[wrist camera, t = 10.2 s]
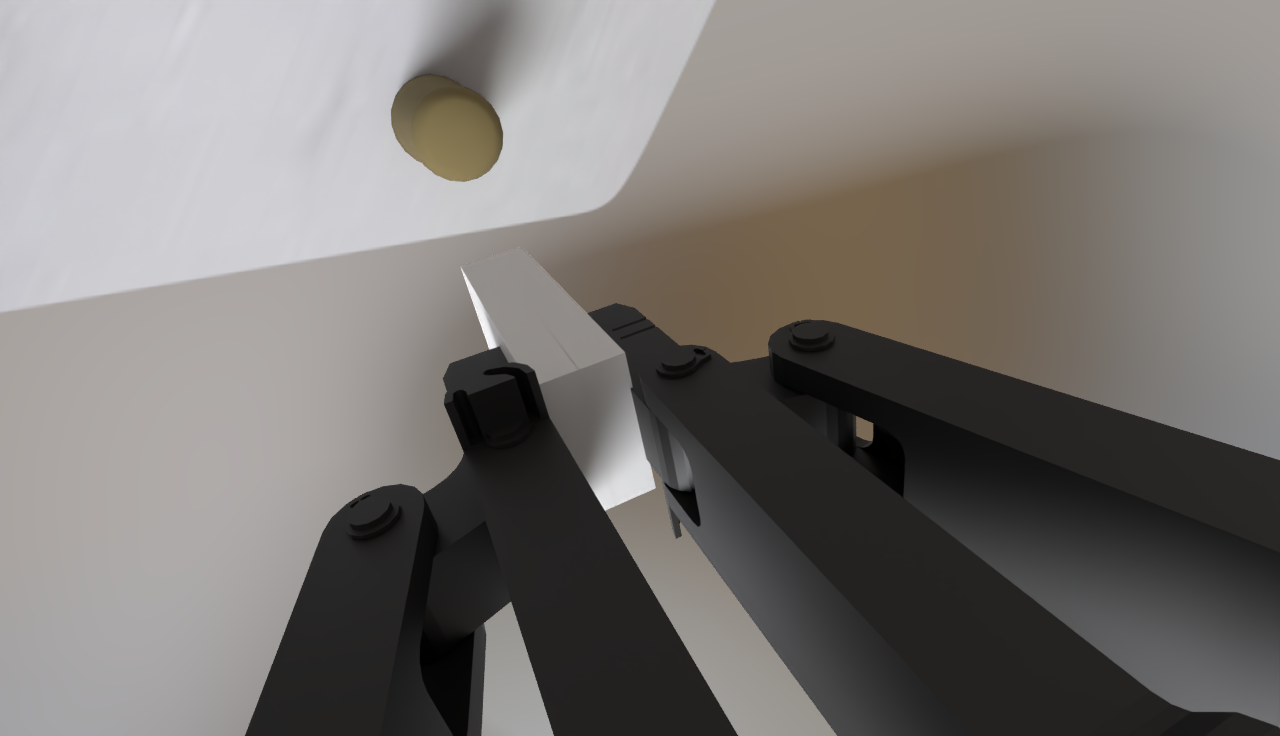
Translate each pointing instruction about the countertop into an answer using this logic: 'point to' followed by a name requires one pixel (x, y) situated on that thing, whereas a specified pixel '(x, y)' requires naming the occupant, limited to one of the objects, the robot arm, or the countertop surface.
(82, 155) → the countertop surface
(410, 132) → the cork
